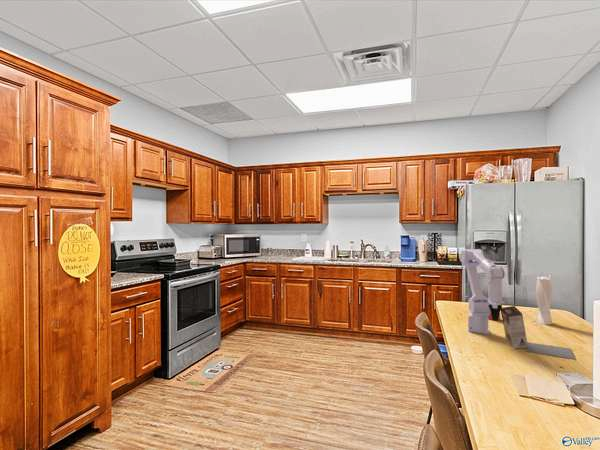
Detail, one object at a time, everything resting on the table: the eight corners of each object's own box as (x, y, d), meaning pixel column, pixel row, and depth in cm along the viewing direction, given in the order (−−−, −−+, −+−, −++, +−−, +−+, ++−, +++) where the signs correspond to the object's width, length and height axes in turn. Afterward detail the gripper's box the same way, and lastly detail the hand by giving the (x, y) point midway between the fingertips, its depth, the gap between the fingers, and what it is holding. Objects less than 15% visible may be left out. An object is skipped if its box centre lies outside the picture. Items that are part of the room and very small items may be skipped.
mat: (526, 351, 151) (526, 351, 151) (525, 342, 163) (525, 341, 163) (576, 359, 142) (576, 359, 142) (570, 349, 154) (570, 348, 154)
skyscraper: (557, 325, 191) (557, 274, 191) (546, 326, 189) (546, 275, 189) (542, 320, 199) (542, 272, 199) (532, 322, 197) (531, 273, 197)
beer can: (498, 318, 205) (498, 297, 205) (501, 321, 199) (501, 300, 199) (486, 317, 207) (486, 297, 207) (488, 320, 201) (488, 299, 201)
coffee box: (505, 339, 164) (499, 307, 162) (520, 337, 162) (514, 305, 161) (513, 348, 155) (507, 315, 153) (529, 346, 153) (522, 313, 152)
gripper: (504, 295, 157) (505, 325, 157) (504, 290, 169) (504, 317, 169) (487, 294, 160) (487, 323, 160) (488, 288, 173) (488, 315, 173)
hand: (495, 320), depth 165 cm, fingers closed
